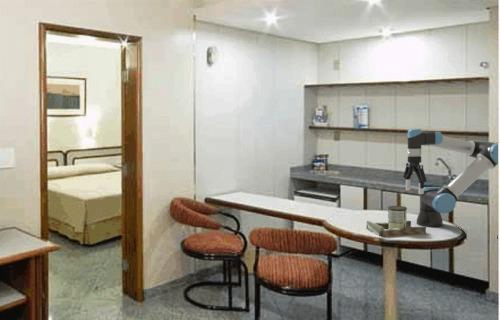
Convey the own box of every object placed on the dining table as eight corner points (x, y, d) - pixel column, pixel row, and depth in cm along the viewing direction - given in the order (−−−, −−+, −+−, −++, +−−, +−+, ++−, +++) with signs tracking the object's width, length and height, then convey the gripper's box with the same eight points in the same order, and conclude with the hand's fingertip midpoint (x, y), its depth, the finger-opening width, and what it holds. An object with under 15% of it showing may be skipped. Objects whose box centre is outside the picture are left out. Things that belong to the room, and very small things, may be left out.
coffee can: (385, 229, 275) (385, 205, 273) (402, 228, 275) (403, 205, 274) (391, 233, 264) (391, 209, 263) (409, 233, 265) (409, 208, 264)
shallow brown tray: (409, 226, 281) (409, 218, 280) (425, 233, 264) (426, 224, 263) (366, 229, 275) (366, 221, 275) (380, 236, 258) (380, 227, 258)
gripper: (397, 154, 279) (397, 189, 281) (420, 157, 255) (420, 195, 257) (408, 153, 281) (408, 188, 283) (433, 157, 256) (433, 195, 258)
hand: (414, 192), depth 270 cm, fingers open, 13 cm apart
